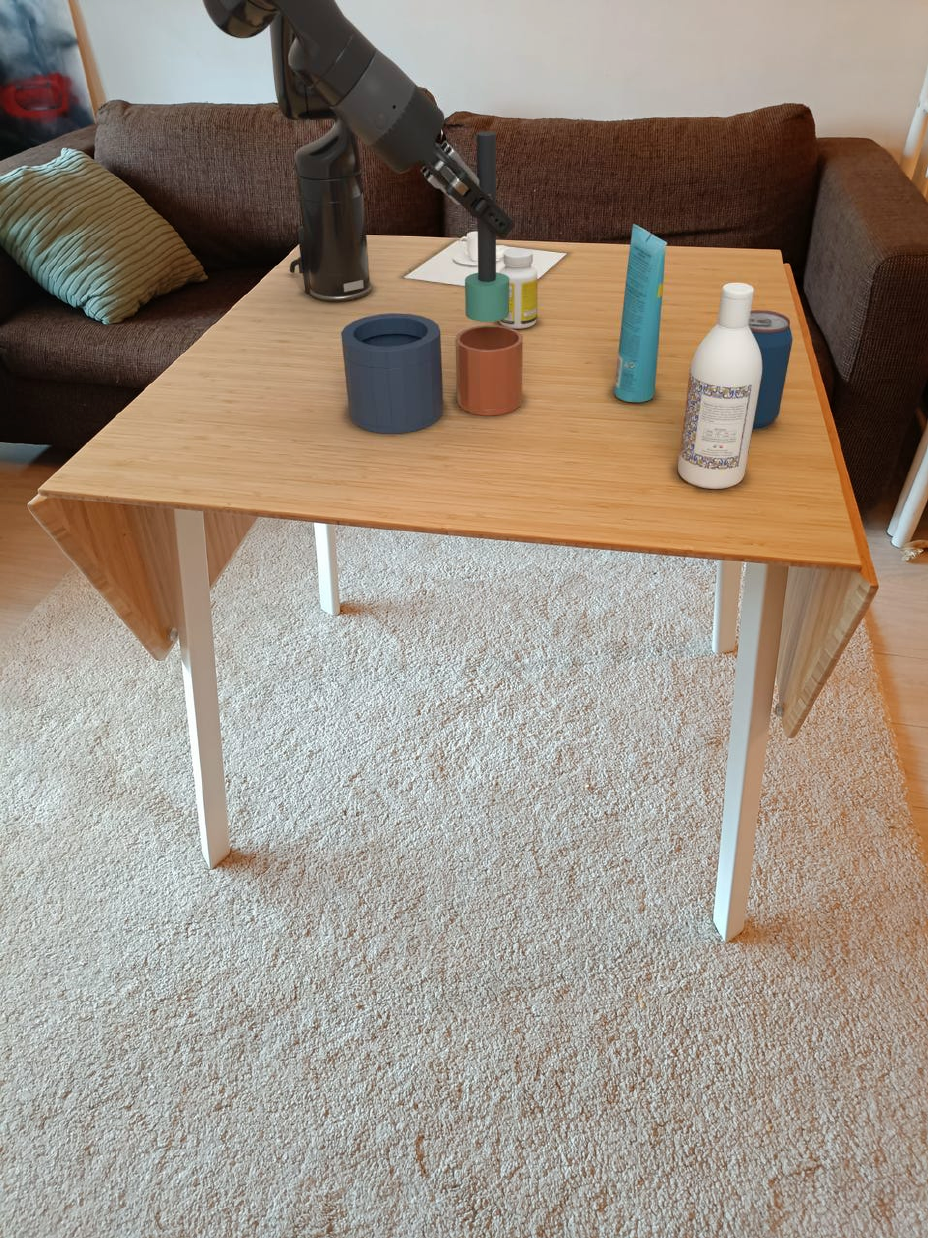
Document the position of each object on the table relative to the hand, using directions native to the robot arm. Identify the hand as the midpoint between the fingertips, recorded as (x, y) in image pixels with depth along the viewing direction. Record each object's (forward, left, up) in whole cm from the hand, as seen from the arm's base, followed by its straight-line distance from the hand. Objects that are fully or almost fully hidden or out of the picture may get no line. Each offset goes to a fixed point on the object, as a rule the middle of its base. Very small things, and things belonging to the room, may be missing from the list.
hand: (505, 227), depth 108 cm
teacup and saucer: (-24, +43, -21) cm, 53 cm away
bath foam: (+28, -7, -21) cm, 35 cm away
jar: (-10, -9, -20) cm, 24 cm away
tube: (+14, +8, -21) cm, 26 cm away
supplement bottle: (-9, +23, -21) cm, 32 cm away
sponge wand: (-2, -1, -9) cm, 10 cm away
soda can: (+28, +7, -21) cm, 35 cm away
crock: (-1, -1, -20) cm, 20 cm away
